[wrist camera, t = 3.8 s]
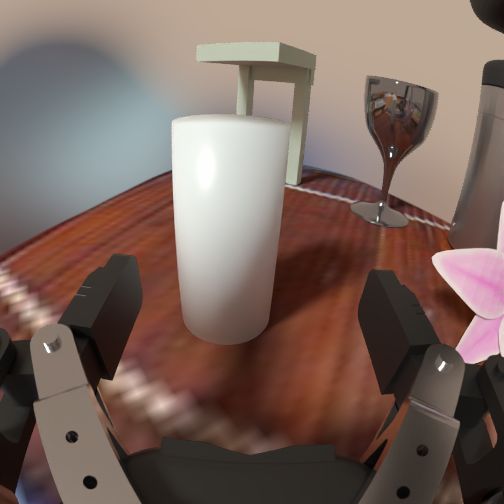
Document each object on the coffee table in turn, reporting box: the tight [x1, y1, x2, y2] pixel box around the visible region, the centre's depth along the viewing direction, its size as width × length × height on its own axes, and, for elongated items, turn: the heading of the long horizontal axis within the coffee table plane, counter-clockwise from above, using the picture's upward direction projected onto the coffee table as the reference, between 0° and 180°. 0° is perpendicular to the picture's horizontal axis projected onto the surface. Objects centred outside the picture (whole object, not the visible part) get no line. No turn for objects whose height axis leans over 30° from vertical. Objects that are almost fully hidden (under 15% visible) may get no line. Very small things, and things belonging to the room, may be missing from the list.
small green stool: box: [196, 42, 316, 185], centre depth 35 cm, size 10×10×17 cm
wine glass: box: [350, 76, 439, 228], centre depth 30 cm, size 8×8×15 cm
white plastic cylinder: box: [172, 114, 291, 345], centre depth 16 cm, size 5×5×11 cm
